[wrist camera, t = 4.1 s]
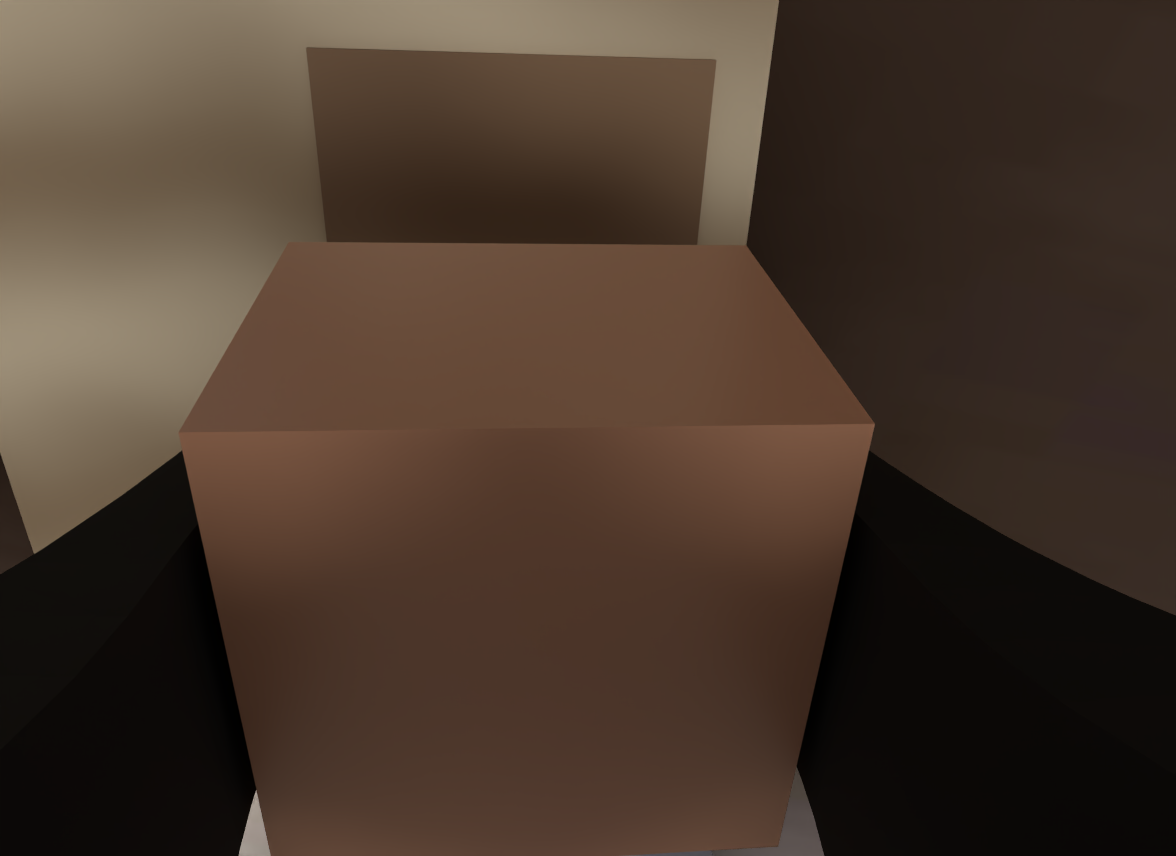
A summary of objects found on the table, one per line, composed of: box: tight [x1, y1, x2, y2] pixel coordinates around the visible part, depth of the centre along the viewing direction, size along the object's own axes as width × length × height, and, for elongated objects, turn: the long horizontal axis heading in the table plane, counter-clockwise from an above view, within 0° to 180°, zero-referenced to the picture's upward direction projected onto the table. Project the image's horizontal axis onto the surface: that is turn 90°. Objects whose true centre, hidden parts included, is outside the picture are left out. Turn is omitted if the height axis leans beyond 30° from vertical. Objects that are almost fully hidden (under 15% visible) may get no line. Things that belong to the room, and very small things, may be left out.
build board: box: [0, 0, 779, 554], centre depth 17 cm, size 23×15×1 cm, turn 178°
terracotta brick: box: [178, 242, 875, 856], centre depth 10 cm, size 5×5×4 cm
